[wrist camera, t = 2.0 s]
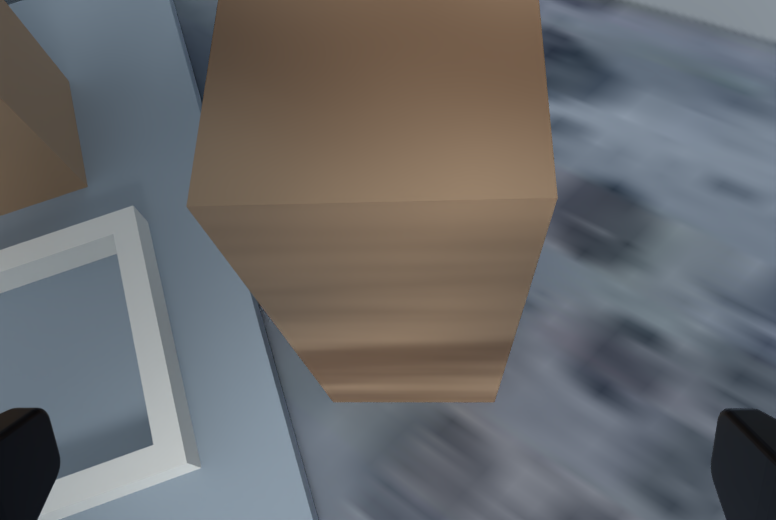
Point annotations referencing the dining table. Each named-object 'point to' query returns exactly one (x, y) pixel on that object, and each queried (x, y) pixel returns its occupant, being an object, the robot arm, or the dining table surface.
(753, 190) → the dining table surface
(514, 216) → the walnut pillar
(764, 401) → the dining table surface
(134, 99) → the baseplate
